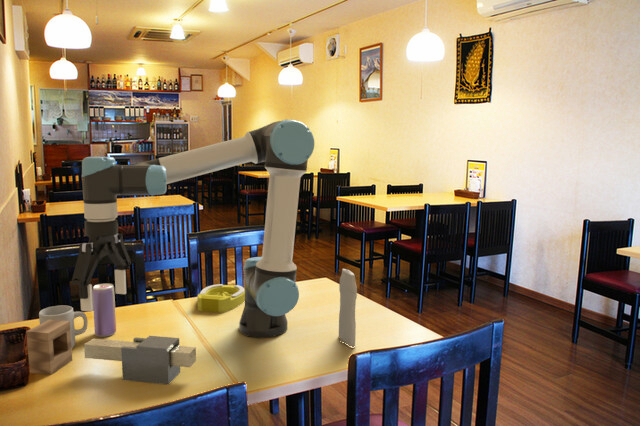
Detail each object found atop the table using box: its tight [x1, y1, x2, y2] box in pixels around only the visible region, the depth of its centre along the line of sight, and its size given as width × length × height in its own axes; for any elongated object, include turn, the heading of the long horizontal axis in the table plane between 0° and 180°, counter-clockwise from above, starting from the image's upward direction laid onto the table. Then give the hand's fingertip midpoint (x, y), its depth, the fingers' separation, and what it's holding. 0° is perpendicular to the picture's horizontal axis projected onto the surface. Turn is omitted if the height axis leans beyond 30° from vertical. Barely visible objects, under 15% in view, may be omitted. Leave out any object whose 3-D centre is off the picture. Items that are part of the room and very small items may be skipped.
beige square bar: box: [83, 338, 197, 368], centre depth 119 cm, size 28×4×4 cm, turn 81°
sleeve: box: [121, 335, 181, 385], centre depth 119 cm, size 12×6×9 cm, turn 81°
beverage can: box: [92, 283, 117, 338], centre depth 144 cm, size 6×6×15 cm
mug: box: [38, 305, 88, 349], centre depth 135 cm, size 12×8×11 cm
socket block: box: [25, 320, 73, 376], centre depth 123 cm, size 6×8×11 cm
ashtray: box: [197, 283, 245, 314], centre depth 174 cm, size 16×21×5 cm
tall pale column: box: [338, 268, 358, 347], centre depth 140 cm, size 11×4×22 cm, turn 21°
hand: (104, 301), depth 121 cm, fingers open, 13 cm apart
